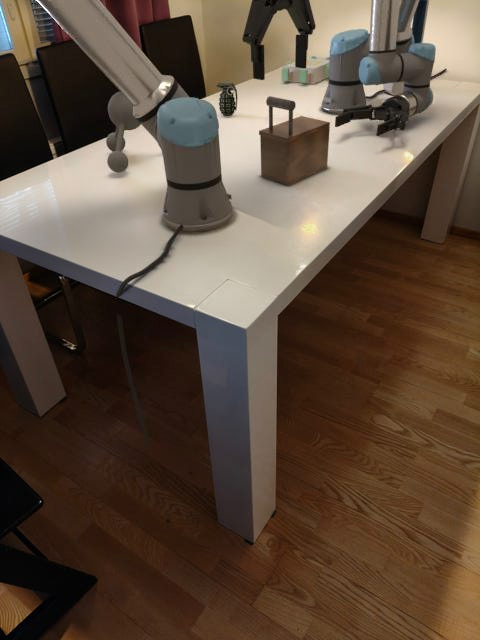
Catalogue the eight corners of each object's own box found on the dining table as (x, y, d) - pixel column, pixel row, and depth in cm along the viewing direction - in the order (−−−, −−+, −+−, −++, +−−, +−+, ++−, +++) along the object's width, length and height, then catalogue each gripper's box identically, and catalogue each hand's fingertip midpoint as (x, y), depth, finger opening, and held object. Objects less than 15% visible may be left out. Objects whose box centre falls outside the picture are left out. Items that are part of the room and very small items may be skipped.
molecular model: (192, 164, 133) (178, 39, 115) (111, 178, 128) (83, 49, 109) (169, 139, 151) (154, 28, 132) (98, 152, 145) (72, 36, 127)
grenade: (217, 117, 168) (214, 86, 162) (221, 112, 172) (219, 82, 166) (235, 117, 166) (233, 86, 160) (239, 113, 171) (238, 82, 165)
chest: (288, 185, 119) (288, 142, 112) (261, 176, 124) (260, 134, 118) (327, 168, 127) (329, 126, 120) (300, 160, 132) (301, 119, 126)
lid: (287, 142, 112) (287, 104, 107) (258, 134, 118) (257, 98, 113) (329, 126, 120) (332, 89, 115) (301, 119, 126) (302, 84, 121)
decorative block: (304, 54, 217) (345, 57, 207) (303, 70, 221) (343, 73, 211) (272, 65, 201) (315, 69, 191) (272, 82, 205) (314, 86, 195)
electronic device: (391, 95, 179) (404, -2, 161) (381, 91, 185) (392, -4, 167) (421, 91, 181) (437, -5, 163) (410, 87, 187) (425, -6, 169)
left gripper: (307, -50, 104) (304, 61, 117) (220, -42, 91) (227, 81, 104) (335, -51, 99) (329, 65, 112) (248, -43, 86) (252, 86, 99)
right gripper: (434, 129, 140) (394, 149, 129) (360, 115, 155) (319, 131, 143) (439, 101, 136) (399, 119, 124) (363, 89, 150) (320, 105, 139)
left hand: (280, 73), depth 108 cm, fingers open, 13 cm apart
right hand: (356, 126), depth 134 cm, fingers open, 13 cm apart
